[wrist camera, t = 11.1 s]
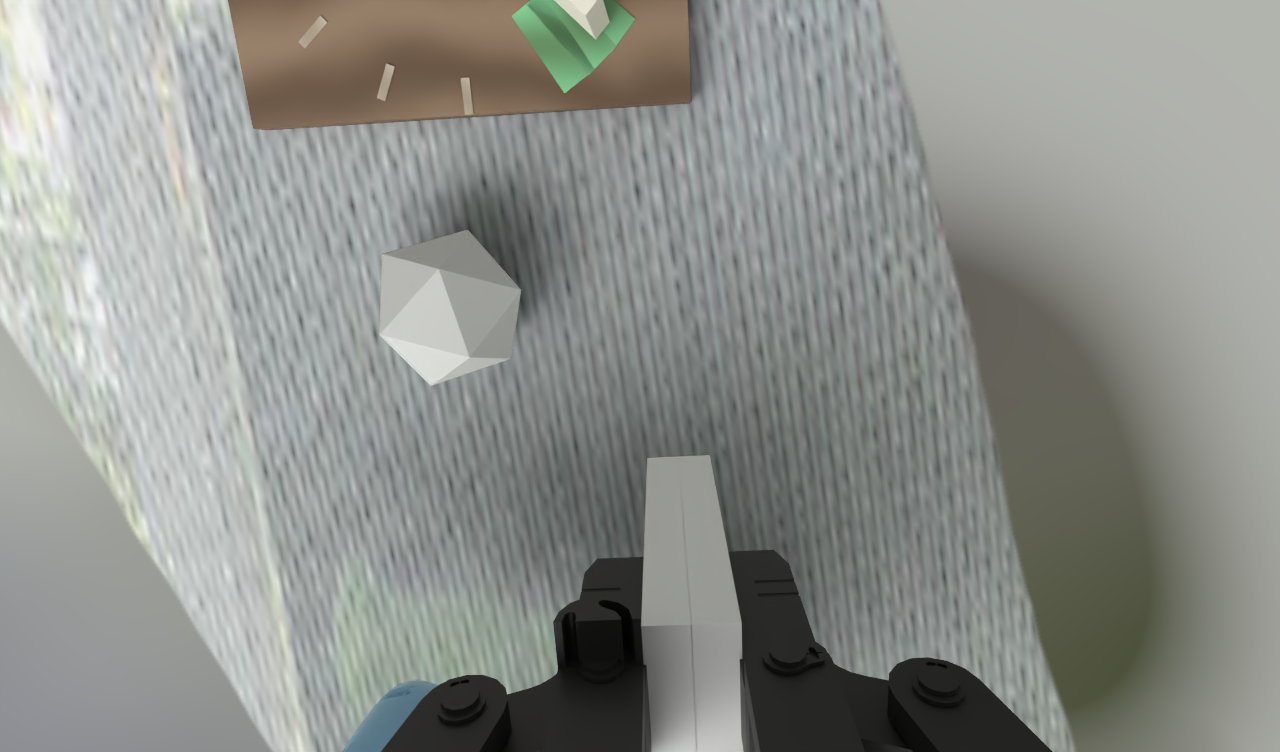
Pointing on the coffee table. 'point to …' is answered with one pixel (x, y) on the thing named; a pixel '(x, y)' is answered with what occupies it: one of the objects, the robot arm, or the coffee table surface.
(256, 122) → the dial plate
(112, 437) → the coffee table surface
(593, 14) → the knob lever
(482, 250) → the die
